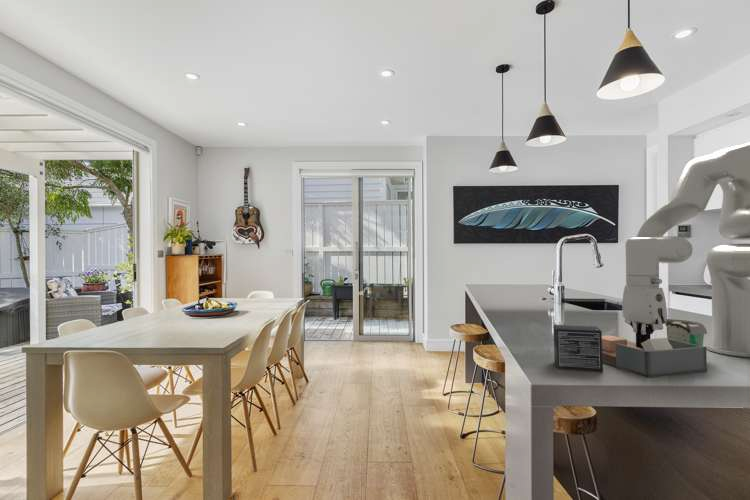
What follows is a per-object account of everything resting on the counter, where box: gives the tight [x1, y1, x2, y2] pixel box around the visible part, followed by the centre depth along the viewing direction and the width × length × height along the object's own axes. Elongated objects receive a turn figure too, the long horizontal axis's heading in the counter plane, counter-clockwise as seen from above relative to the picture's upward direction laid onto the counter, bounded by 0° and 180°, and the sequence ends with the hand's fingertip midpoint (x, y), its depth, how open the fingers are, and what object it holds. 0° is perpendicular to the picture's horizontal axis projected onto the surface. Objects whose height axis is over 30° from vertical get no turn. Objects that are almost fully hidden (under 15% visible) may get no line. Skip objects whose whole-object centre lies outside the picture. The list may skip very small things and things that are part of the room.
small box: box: [553, 324, 604, 373], centre depth 97 cm, size 11×6×10 cm, turn 71°
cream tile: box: [641, 337, 673, 351], centre depth 98 cm, size 6×6×3 cm
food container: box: [664, 318, 708, 346], centre depth 103 cm, size 12×6×10 cm, turn 168°
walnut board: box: [602, 340, 645, 367], centre depth 106 cm, size 18×13×2 cm
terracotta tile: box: [602, 334, 628, 352], centre depth 105 cm, size 6×6×3 cm
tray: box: [615, 339, 708, 379], centre depth 95 cm, size 18×9×6 cm, turn 103°
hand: (643, 347), depth 104 cm, fingers closed
